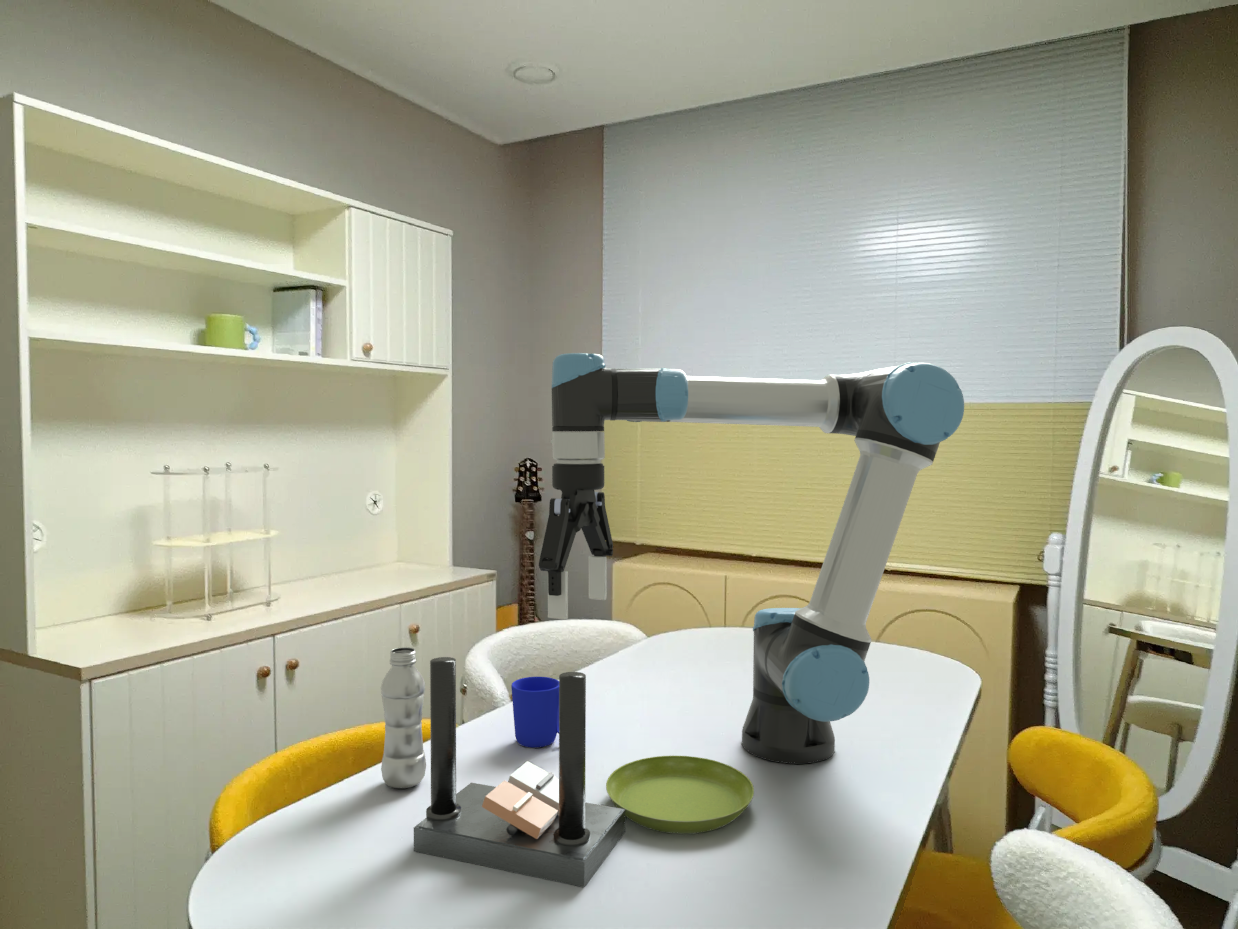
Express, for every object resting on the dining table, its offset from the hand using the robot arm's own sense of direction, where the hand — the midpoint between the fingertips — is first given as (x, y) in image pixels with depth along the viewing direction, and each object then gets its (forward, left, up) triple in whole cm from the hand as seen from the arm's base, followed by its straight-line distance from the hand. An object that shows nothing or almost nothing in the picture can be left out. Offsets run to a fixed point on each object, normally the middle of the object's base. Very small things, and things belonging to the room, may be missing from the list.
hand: (578, 608), depth 120 cm
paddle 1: (0, +13, -21) cm, 25 cm away
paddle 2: (0, +19, -21) cm, 29 cm away
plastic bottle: (+25, +8, -27) cm, 37 cm away
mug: (+12, -14, -27) cm, 33 cm away
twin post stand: (+1, +17, -27) cm, 32 cm away
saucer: (-15, 0, -27) cm, 31 cm away
